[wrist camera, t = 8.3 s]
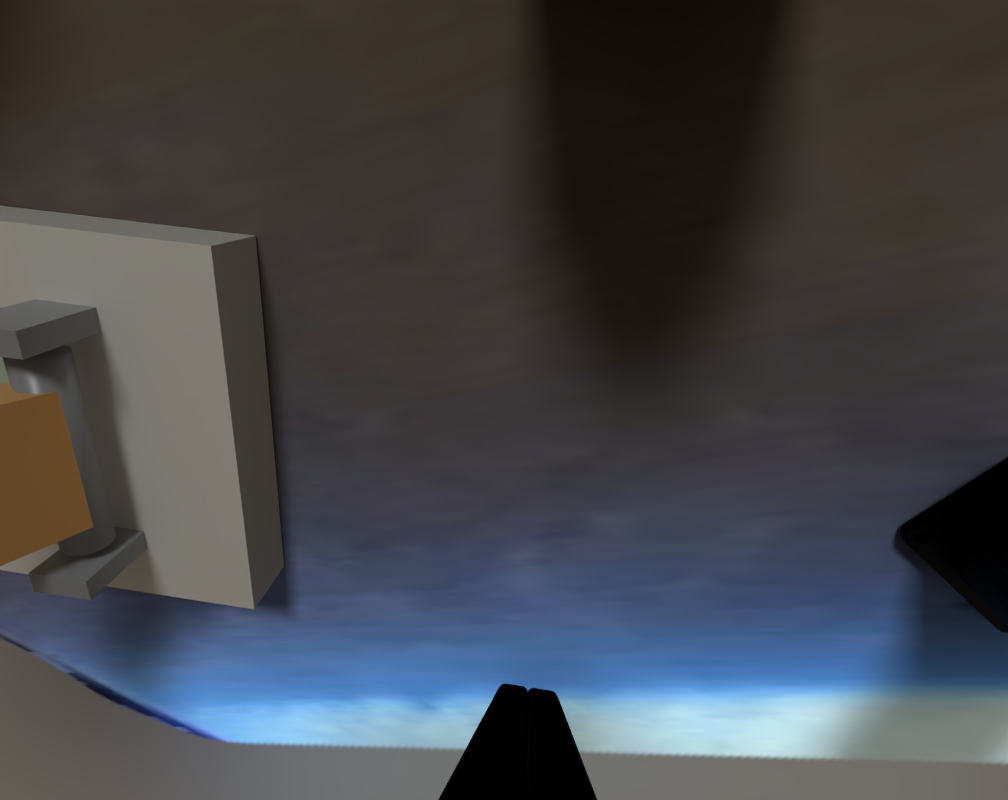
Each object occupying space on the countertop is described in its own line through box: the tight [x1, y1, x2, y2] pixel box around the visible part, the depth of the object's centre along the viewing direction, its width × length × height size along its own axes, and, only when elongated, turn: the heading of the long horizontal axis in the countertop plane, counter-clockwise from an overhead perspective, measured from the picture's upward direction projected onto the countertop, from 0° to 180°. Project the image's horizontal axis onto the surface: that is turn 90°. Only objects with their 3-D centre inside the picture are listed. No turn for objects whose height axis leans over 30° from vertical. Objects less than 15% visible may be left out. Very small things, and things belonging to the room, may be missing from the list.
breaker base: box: [0, 206, 284, 609], centre depth 19 cm, size 11×14×5 cm
